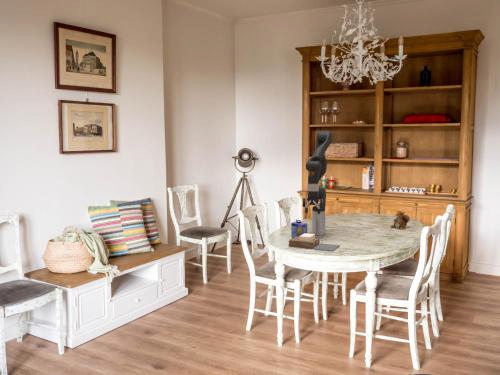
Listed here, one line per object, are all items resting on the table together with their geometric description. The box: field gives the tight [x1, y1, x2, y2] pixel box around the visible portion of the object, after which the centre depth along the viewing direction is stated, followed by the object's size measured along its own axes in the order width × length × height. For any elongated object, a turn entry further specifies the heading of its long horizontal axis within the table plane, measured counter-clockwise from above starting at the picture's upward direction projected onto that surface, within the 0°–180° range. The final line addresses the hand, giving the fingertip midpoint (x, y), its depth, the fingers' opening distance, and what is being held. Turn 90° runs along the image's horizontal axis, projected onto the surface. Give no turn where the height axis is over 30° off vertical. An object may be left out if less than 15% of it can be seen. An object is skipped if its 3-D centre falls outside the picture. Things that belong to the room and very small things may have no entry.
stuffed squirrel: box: [390, 210, 411, 230], centre depth 372 cm, size 10×14×13 cm
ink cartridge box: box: [290, 219, 308, 240], centre depth 333 cm, size 10×6×14 cm, turn 51°
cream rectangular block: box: [299, 232, 316, 242], centre depth 318 cm, size 10×7×3 cm
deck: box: [288, 236, 321, 250], centre depth 319 cm, size 14×16×4 cm
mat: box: [312, 242, 341, 252], centre depth 313 cm, size 15×13×1 cm
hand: (312, 213), depth 338 cm, fingers open, 8 cm apart
